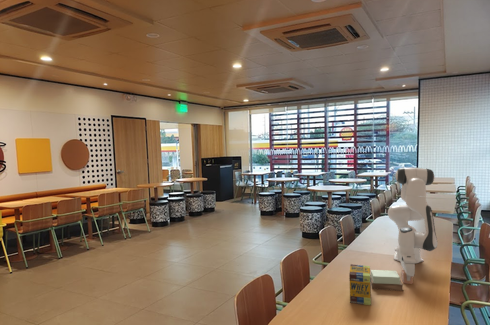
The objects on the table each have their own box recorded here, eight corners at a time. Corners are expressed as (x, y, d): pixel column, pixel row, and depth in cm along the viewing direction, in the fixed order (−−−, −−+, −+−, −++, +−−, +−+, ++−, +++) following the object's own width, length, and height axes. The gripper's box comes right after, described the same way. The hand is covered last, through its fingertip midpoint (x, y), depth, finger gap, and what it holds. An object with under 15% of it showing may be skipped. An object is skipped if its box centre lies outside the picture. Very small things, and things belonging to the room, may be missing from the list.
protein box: (349, 303, 170) (349, 274, 170) (351, 290, 185) (350, 263, 184) (371, 305, 167) (370, 276, 166) (370, 292, 181) (370, 265, 180)
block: (401, 279, 196) (401, 269, 196) (410, 280, 195) (410, 270, 195) (403, 283, 191) (403, 273, 191) (412, 283, 190) (412, 273, 190)
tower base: (370, 281, 197) (370, 274, 197) (398, 283, 193) (398, 276, 193) (372, 289, 186) (371, 283, 186) (402, 292, 181) (402, 285, 181)
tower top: (370, 276, 195) (370, 269, 195) (396, 277, 192) (395, 270, 192) (373, 283, 185) (373, 276, 185) (400, 284, 182) (399, 277, 182)
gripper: (397, 249, 203) (398, 271, 204) (404, 260, 184) (404, 284, 184) (408, 250, 201) (409, 271, 202) (416, 261, 182) (417, 285, 182)
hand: (407, 278), depth 193 cm, fingers closed on block, 5 cm apart
